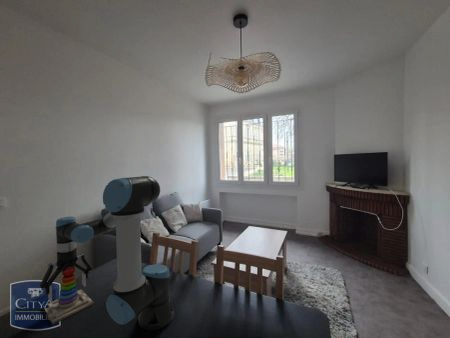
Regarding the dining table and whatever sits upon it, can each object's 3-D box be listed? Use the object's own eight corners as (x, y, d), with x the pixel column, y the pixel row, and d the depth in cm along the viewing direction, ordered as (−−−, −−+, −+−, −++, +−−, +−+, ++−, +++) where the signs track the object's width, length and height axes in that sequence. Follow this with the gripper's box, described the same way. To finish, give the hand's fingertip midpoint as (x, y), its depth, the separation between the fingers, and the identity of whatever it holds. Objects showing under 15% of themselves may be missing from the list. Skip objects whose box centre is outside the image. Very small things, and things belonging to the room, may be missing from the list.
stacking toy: (67, 310, 96) (66, 271, 95) (53, 308, 98) (52, 269, 97) (82, 299, 104) (81, 263, 103) (69, 297, 106) (68, 261, 105)
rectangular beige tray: (93, 304, 102) (93, 299, 102) (52, 324, 90) (52, 319, 90) (81, 291, 112) (81, 287, 112) (42, 308, 99) (42, 303, 99)
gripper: (92, 239, 112) (93, 278, 113) (30, 256, 92) (31, 303, 93) (98, 243, 107) (99, 283, 108) (34, 261, 87) (35, 310, 88)
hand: (68, 292), depth 101 cm, fingers open, 13 cm apart
